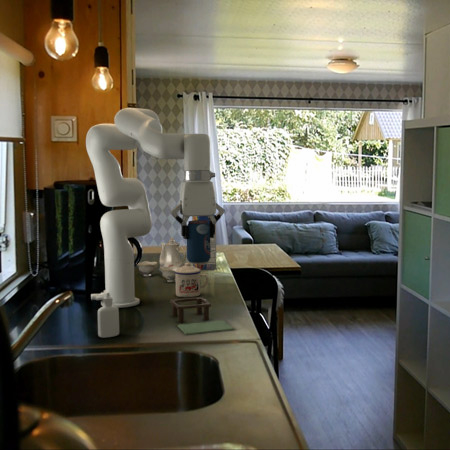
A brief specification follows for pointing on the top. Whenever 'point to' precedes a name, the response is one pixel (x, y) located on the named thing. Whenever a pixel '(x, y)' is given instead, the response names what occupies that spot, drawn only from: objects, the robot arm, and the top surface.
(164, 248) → the chinaware
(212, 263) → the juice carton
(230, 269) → the top surface
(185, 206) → the robot arm
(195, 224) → the soda can
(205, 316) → the can rack
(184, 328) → the mat
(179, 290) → the teacup with lid
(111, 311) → the eye dropper bottle
